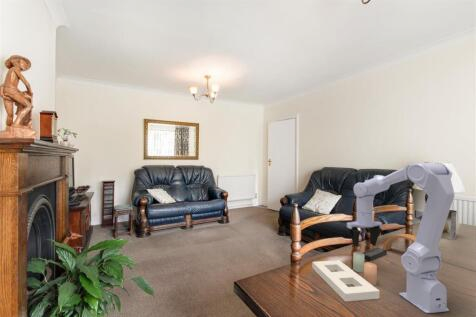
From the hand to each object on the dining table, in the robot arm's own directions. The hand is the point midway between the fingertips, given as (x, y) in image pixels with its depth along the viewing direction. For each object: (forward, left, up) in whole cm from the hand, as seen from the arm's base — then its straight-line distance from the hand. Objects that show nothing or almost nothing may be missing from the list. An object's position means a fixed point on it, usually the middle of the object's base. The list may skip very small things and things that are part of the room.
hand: (364, 245), depth 93 cm
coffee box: (+28, -73, -10) cm, 79 cm away
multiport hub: (+10, -13, -10) cm, 20 cm away
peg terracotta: (-10, +5, -10) cm, 15 cm away
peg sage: (-1, +3, -10) cm, 10 cm away
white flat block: (-8, +15, -10) cm, 19 cm away
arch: (+7, -28, -10) cm, 31 cm away
